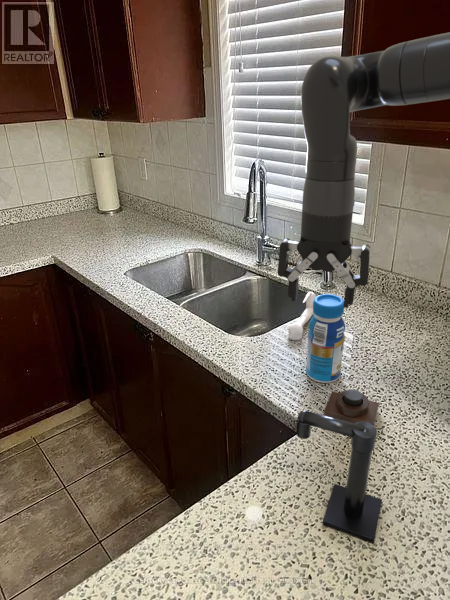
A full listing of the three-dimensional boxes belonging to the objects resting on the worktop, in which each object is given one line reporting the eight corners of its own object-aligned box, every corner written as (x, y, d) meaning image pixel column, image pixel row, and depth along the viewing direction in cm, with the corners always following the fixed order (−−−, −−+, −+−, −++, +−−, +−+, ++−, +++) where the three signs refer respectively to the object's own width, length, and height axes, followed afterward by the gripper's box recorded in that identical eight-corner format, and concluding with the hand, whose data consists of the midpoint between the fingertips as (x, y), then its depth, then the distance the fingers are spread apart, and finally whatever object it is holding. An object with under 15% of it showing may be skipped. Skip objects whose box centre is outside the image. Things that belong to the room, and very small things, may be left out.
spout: (375, 446, 68) (378, 424, 66) (371, 462, 65) (375, 439, 63) (299, 425, 73) (301, 403, 70) (293, 439, 70) (294, 416, 68)
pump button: (362, 398, 94) (363, 391, 93) (359, 408, 91) (360, 402, 90) (345, 394, 95) (346, 387, 94) (342, 404, 92) (342, 397, 92)
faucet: (287, 349, 126) (284, 326, 119) (306, 306, 137) (305, 282, 130) (301, 352, 124) (299, 329, 118) (319, 309, 135) (318, 285, 128)
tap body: (381, 503, 75) (393, 436, 68) (373, 544, 69) (386, 474, 62) (333, 487, 78) (341, 421, 72) (322, 525, 72) (329, 456, 65)
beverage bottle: (299, 367, 111) (303, 294, 102) (331, 361, 112) (337, 289, 103) (314, 387, 103) (319, 311, 94) (347, 380, 105) (355, 305, 96)
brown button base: (377, 410, 96) (380, 396, 94) (372, 432, 90) (374, 416, 88) (331, 399, 99) (332, 384, 98) (323, 418, 94) (324, 403, 92)
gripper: (275, 210, 66) (273, 307, 74) (375, 217, 62) (362, 319, 69) (286, 198, 73) (282, 288, 80) (377, 203, 68) (365, 298, 76)
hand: (320, 302), depth 75 cm, fingers open, 8 cm apart
